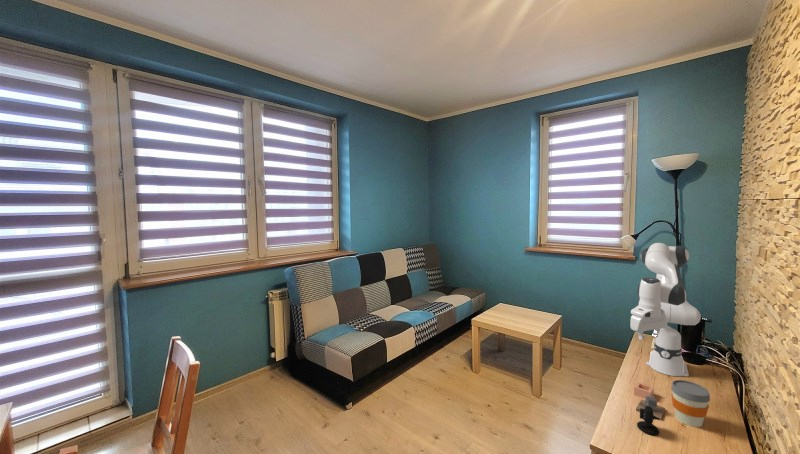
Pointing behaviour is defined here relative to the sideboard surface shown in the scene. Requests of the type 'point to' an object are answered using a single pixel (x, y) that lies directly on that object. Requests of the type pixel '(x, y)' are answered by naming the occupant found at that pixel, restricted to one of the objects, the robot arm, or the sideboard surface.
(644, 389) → the pink square socket block
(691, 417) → the reusable coffee cup
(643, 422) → the webcam
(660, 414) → the base
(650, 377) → the sideboard surface
